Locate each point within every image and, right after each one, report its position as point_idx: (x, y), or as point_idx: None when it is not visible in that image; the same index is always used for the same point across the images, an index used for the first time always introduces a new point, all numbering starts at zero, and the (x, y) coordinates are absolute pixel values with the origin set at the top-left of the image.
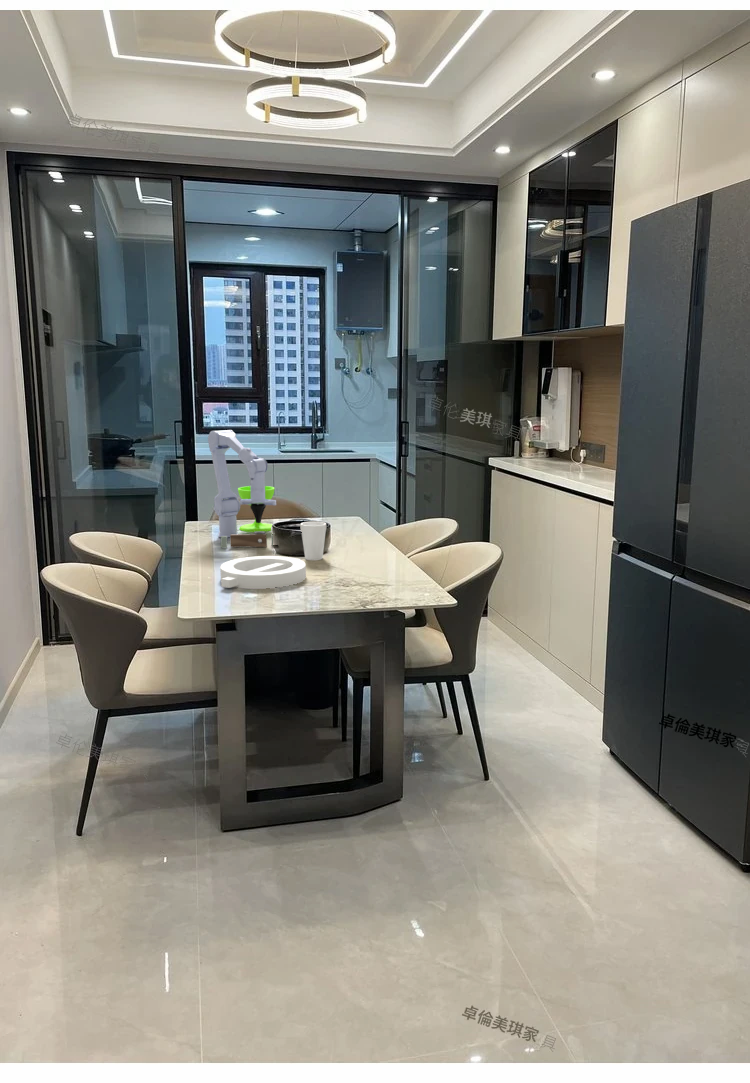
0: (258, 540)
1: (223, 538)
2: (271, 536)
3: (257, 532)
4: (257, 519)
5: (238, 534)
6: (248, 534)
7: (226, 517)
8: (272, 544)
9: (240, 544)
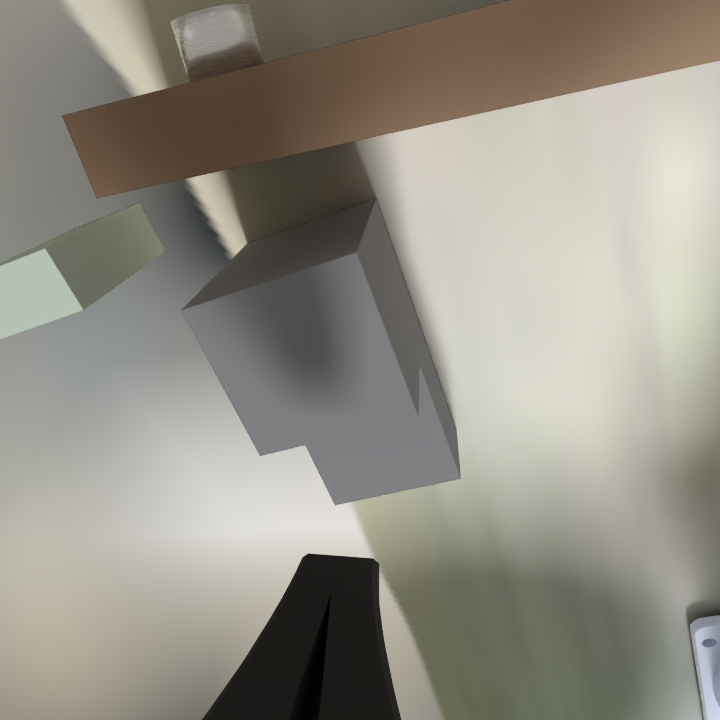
0: (227, 5)
1: None
2: (100, 288)
3: (334, 340)
4: (329, 617)
5: (715, 40)
6: (457, 83)
7: None
8: (124, 211)
9: None
